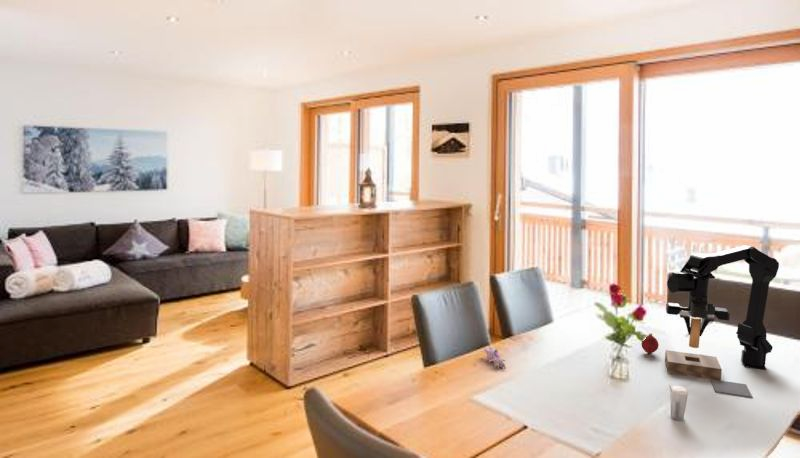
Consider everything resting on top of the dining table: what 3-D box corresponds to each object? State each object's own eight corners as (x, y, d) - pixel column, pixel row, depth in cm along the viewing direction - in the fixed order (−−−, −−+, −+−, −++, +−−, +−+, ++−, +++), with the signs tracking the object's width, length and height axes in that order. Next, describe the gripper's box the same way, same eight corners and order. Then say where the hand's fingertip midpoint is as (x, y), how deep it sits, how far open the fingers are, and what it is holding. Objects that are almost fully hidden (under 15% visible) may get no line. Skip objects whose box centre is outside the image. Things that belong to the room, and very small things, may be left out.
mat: (745, 385, 174) (745, 384, 174) (752, 398, 164) (752, 396, 164) (710, 380, 177) (710, 379, 177) (715, 392, 168) (715, 391, 168)
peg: (698, 345, 185) (700, 317, 184) (699, 348, 183) (701, 320, 181) (688, 344, 186) (690, 316, 185) (689, 347, 184) (691, 319, 182)
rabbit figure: (509, 373, 185) (494, 351, 200) (511, 358, 184) (495, 337, 198) (492, 374, 184) (478, 352, 198) (494, 359, 183) (479, 337, 197)
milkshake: (662, 414, 153) (664, 381, 152) (679, 413, 154) (682, 380, 153) (671, 422, 149) (674, 388, 148) (689, 421, 149) (692, 387, 148)
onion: (659, 357, 197) (661, 336, 196) (642, 356, 199) (644, 335, 198) (655, 351, 203) (656, 331, 202) (639, 350, 204) (640, 330, 203)
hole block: (715, 367, 188) (716, 356, 188) (720, 380, 177) (721, 369, 177) (664, 360, 194) (665, 350, 194) (667, 372, 183) (668, 361, 183)
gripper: (669, 293, 178) (666, 338, 180) (734, 300, 171) (730, 346, 173) (667, 286, 188) (664, 329, 190) (728, 292, 181) (724, 336, 183)
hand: (694, 335), depth 184 cm, fingers closed on peg, 3 cm apart
